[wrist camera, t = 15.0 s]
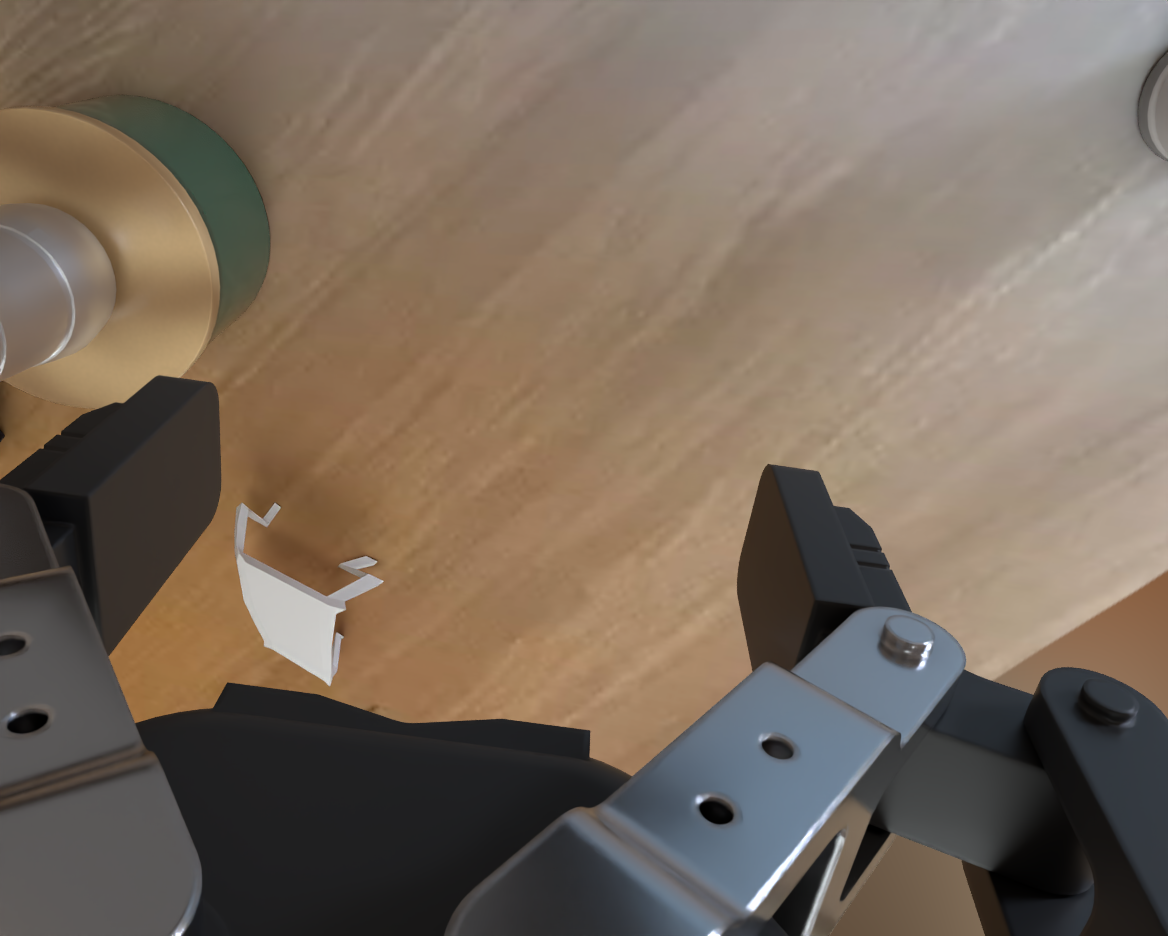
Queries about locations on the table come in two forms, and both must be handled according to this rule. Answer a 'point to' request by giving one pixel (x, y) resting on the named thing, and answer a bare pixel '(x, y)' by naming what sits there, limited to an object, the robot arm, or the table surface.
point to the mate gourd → (1, 436)
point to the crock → (140, 234)
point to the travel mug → (1155, 109)
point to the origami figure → (295, 605)
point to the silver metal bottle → (49, 286)
